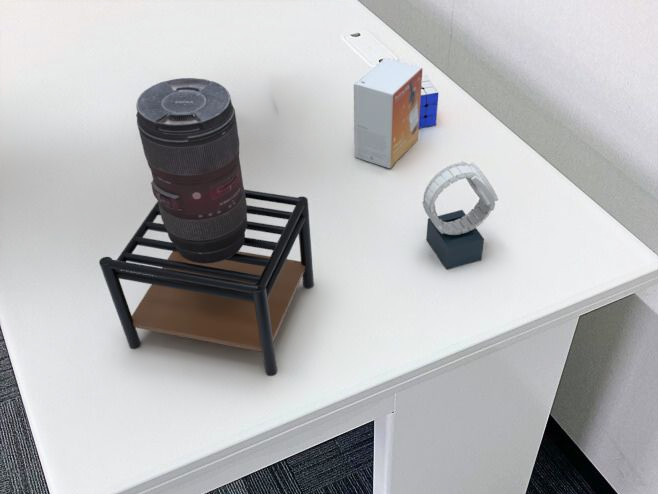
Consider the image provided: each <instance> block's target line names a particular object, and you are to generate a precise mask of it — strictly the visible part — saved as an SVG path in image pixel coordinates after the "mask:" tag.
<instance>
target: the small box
mask: <svg viewBox="0 0 658 494" xmlns="http://www.w3.org/2000/svg"><path fill="white" fill-rule="evenodd" d="M422 76H423V67H421V66H418V65H414V64H411V63H407V62H405V61H400V60H397V59H394V58H390V57H384V58H383V59H382V60H381V61H380V62H379V63H378V64H376V65H375V66H374V67H373V68H372V69H370V70H369V71H368V72H367V73H366V74H365V75H363V76H362V77H361V78H360V79H358V80H357V81H355V82H354V83H353V142H354V143H353V147H354V150H353V151H354V157H355V158H357V159H360V160H362V161H366V162H368V163H372V164H375V165H378V166H381V167H384V168H387V169H392V168H393V166H394V165H395V164H396V163H397V162H398V161H399V160H400V159H401V158H402V157H403V156H404V155H405V153H407V152H408V151H409V150H410V149H411V148H412V147H413V146H414V145H415V144H416V143H417V142H418V140H419V129H420V128H419V114H420V99H421V84H422Z"/></svg>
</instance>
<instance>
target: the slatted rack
mask: <svg viewBox="0 0 658 494" xmlns="http://www.w3.org/2000/svg"><path fill="white" fill-rule="evenodd" d="M244 190H245V196H246V199H250V200H258V201H262V202H270V203H276V204H283V205H288V206H289V205H290V206H294V208H293V210H292V211H289V210H288V211H286V210H280V209H274V208H267V207H261V206H255V205H249V204H247V214H249V215H254V216H255V215H257V216H261V217H269V218H275V219H282V220H287V222H286V224H285V226H281V225H275V224H268V223H263V222H256V221H250V220H249V221H248V220H247V229H246V230H250V231H256V232H262V233H268V234H273V235H280V237H279V238H278V240H277V241H270V240H264V239H259V238H254V237H253V238H251V237H246V236H245V241H244V244H243V247H245V246H246V247H250V248H251V247H252V248H257V249H262V250H269V251H272V252H271V254H270V256H269V255H264V254H259V253H252V252H247V251H246V252H245V251H241V250H239V251H238V252H237V253H236V254H235V255H233V256H231V257H230V258H228V259H225V260H222V261H220V262H215V263H207V264H205V263H196V262H192V261H189V260H187V259H185V258H184V257H183V256H181V255H180V253H179V252H178V251H177V248H176V245H174V244H173V243H172V241H165V240H160V239H153V238H147V237H144V236H145V235H146V234H147V232H148V231H153V232H160V233H166V234H168V233H167V230H166V228H165V225H164V223H161V222H159V223H158V222H155V221H156V219H157V217H158V216H161V214H160V209H159V205H158V200H157V201H156V203H155V204H154V206H153V207H152V208H151V210H150V211H149V213H148V214H147V216H145V218H144V220H143V222H142V223H141V224H140V226H139V227H138V228H137V229H136V232H135V233H134V234H133V235H132V237H131V239H130V240H129V242H128V243H126V245H125V247H124V249H123V250H122V252H121V253H120V254H119V256H118V257H117V258H116V259H113V258H112V257H111V256H103V257H101V258H100V259H99V261H98V263H99V267H100V269H101V272H102V275H103V278H104V281H105V283H106V286H107V289H108V292H109V294H110V297H111V300H112V303H113V305H114V308H115V310H116V313H117V317H118V318H119V321H120V324H121V327H122V331H123V333H124V335H125V336H124V337H125V338H126V341H127V344H128V346H129V348H130V349H138V348H139V347H140V346H141V344H142V343H141V339H140V337H139V333H138V330H137V329H141V330H145V331H146V330H147V331H151V332H156V333H162V334H167V335H173V336H178V337H183V338H189V339H194V340H199V341H204V342H210V343H213V344H214V343H215V344H220V345H224V346H229V347H230V346H231V347H236V348H241V349H246V350H252V351H257V352H262V353H261V355H262V361H263V367H264V372H265V374H266V375H267V376H275V375H276V374H277V373H278V366H277V359H276V351H275V350H276V349H275V343H274V341H275V339H276V337H277V334H278V332H279V330H280V328H281V325H282V323H283V321H284V319H285V316H286V314H287V311H288V310H289V308H290V305H291V303H292V301H293V299H294V296H295V295H296V294H295V293H296V292H297V289H298V288H299V285H300V283H301V280H302V286H303V287H304V288H306V289H311V288H313V287H314V285H315V283H314V280H315V279H314V268H313V254H312V252H313V251H312V240H311V225H310V210H309V199H308V198H307V197H306V196H298V197H297V196H290V195H283V194H277V193H269V192H263V191H257V190H249V189H244ZM297 238H298V244H299V254H300V255H299V256H300V261H299V260H296V259H295V260H294V259H288V257H289V255H290V253H291V251H292V248H293V247H294V244H295V242H296V240H297ZM138 246H140V247H147V248H153V249H158V250H164V251H171V252H170V255H168V258H161V257H155V256H149V255H143V254H138V253H133V252H134V251H135V250H136V248H137V247H138ZM120 280H126V281H130V282H131V281H132V282H136V283H137V282H138V283H142V284H147V285H150V286H149V288H148V290H147V291H146V293H145V294H144V296H143V297H142V299H141V300H140V302H139V304H138V305H137V307H136V308H135V310H134V312H133V313H131V309H130V307H129V304H128V301H127V298H126V295H125V292H124V290H123V286H122V284H121V283H122V282H121V281H120Z"/></svg>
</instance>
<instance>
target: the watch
mask: <svg viewBox="0 0 658 494" xmlns="http://www.w3.org/2000/svg"><path fill="white" fill-rule="evenodd" d="M465 179H466V181H467V183H468V184H469V186H470V187H471V188H472V190H473V191H474V193H475V195H476V196H477V197H478V198H479V199H478V202H476V204H475V205H474V207H473V208H472V209H470V211H469V212H467V214H466V213H465V211H464V210H463V209H459V210H456V211H452V212H449V213H445V214H441V215H438V213H437V210H436V204H435V202H436V201H437V199H438V197H439V195H441V194H442V192H444V190H446V189H447V188H448V187H449V186H451V185H453V184H454V183H455V182H456V183H457V182H458V181H460V180H461V181H462V180H465ZM422 199H423V201H422V202H421V203H422V207H423V209H424V211H425V214H426V215H427V217H428V218H427V223H426V224H427V225H426V237H425V238H426V239H425V240H426V242H427V243H428V245H429V246H430V248H431V249H432V251H433V252H434V253H435V255H436V256H437V258H438V260H439V261H440V262H441V264H442V265H443V267H444V269H445V270H449V269H454V268H457V267H458V268H459V267H461V266H465V265H469V264H473V263H476V262H479V261H482V256H483V251H484V243H485V238H484V236H483V235H482V233H481V232H480V231H479V230H478V228H477V227H479V226H480V225H482V223H484V221H486V219H487V218H488V217H489V216H490V214H491V213H492V211H494V210H495V207H496V202H498V201H499V198H498V195H497V193H496V191H495V189H494V188H493V185H492V184H491V183H490V182H489V180H488V179H487V177H486V176H485V174H484V173H483V172H482V171H481V168H479V167H478V166H477V165H476V164H475V163H474V162H473V161H472V162H470V163H467V162H466V161H461V162H458V163H453V164H450V165H449V166H446V167H444V168H443V169H441V170H440V171H438V172H437V173H436V174H434V177H432V179H431V180H430V181H429V183H428V184H427V186H426V188H425V190H424V193H423V198H422Z"/></svg>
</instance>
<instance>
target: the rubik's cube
mask: <svg viewBox="0 0 658 494" xmlns="http://www.w3.org/2000/svg"><path fill="white" fill-rule="evenodd" d="M438 105H439V91H438V90H437V88H436V87H435V85H434V84H433V83H432V81H431V79H430V78H429V77H428V76H427V75H426V74H422V84H421V99H420V114H419V129H423V128H428V127H434V126H435V127H436V126H437V117H438Z"/></svg>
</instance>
